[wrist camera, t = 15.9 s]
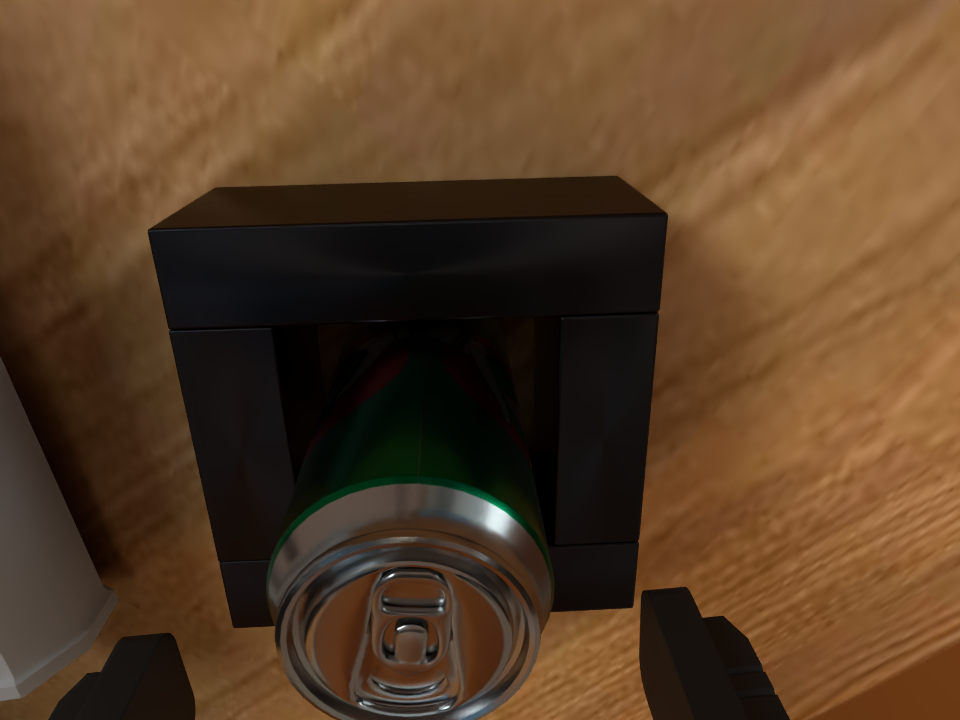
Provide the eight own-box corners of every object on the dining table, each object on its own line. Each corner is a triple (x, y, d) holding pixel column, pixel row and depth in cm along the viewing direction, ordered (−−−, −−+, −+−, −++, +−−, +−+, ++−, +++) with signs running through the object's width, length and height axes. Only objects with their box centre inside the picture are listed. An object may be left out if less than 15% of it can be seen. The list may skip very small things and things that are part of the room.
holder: (599, 506, 25) (634, 609, 21) (271, 521, 25) (232, 629, 20) (618, 175, 20) (669, 213, 16) (213, 187, 20) (145, 228, 15)
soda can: (345, 417, 23) (257, 750, 12) (346, 269, 21) (240, 509, 10) (498, 424, 24) (544, 754, 13) (513, 280, 22) (585, 523, 11)
